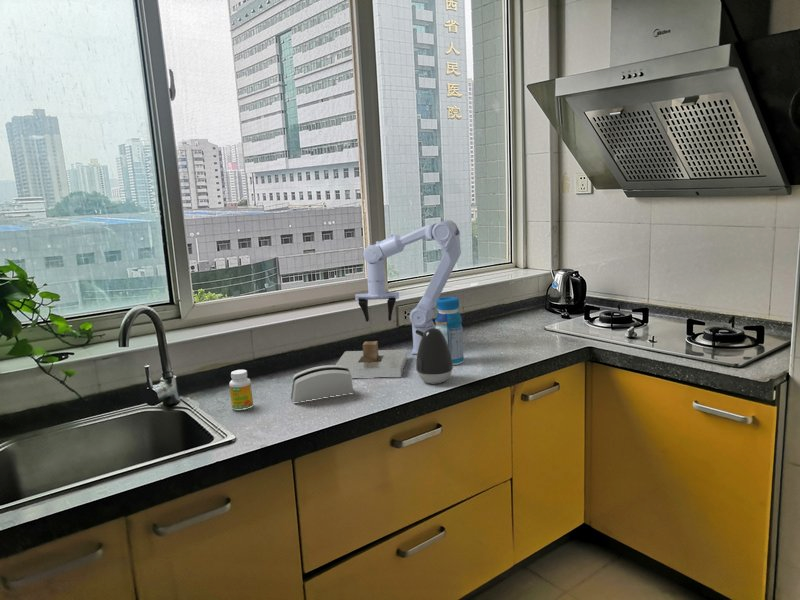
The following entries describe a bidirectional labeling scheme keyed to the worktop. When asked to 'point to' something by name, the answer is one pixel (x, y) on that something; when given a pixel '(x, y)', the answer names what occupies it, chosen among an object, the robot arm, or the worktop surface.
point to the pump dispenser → (433, 357)
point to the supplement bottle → (240, 390)
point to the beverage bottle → (451, 326)
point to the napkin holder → (321, 383)
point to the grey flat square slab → (374, 364)
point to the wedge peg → (370, 351)
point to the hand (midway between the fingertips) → (378, 320)
